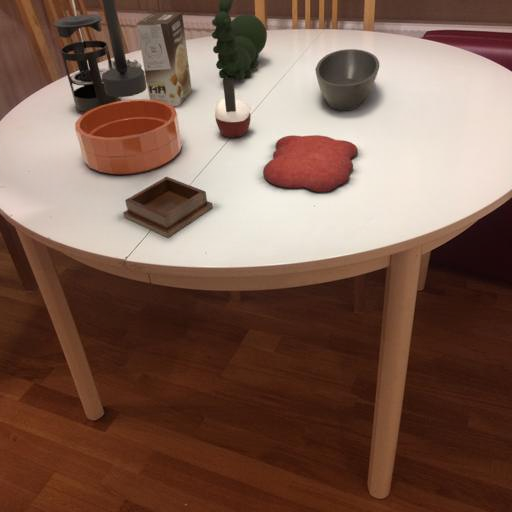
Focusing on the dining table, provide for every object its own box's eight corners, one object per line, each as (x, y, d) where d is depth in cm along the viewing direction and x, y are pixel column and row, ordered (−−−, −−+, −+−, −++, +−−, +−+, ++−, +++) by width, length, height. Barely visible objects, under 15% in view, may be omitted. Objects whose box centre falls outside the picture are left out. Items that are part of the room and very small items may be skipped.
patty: (280, 138, 93) (280, 127, 91) (360, 143, 89) (361, 132, 88) (254, 187, 79) (253, 176, 78) (346, 196, 76) (347, 184, 75)
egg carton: (146, 85, 119) (142, 66, 116) (112, 89, 117) (108, 71, 115) (141, 70, 127) (138, 53, 124) (110, 74, 126) (106, 57, 123)
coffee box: (179, 107, 107) (167, 23, 97) (150, 106, 108) (135, 23, 98) (192, 90, 114) (182, 11, 104) (165, 90, 115) (152, 11, 105)
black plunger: (123, 100, 74) (85, -87, 60) (96, 92, 77) (55, -87, 63) (155, 87, 77) (125, -92, 64) (128, 80, 80) (95, -92, 67)
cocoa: (228, 122, 99) (222, 58, 92) (259, 126, 97) (255, 60, 90) (206, 144, 92) (198, 76, 85) (238, 148, 90) (233, 79, 83)
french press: (128, 108, 108) (102, -16, 94) (83, 119, 104) (49, -8, 90) (111, 92, 116) (85, -24, 102) (68, 102, 112) (35, -17, 98)
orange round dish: (128, 186, 82) (119, 148, 78) (65, 160, 90) (54, 124, 86) (201, 146, 92) (196, 111, 88) (138, 126, 100) (131, 92, 96)
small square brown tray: (167, 237, 70) (164, 220, 68) (124, 217, 75) (119, 200, 73) (212, 207, 75) (210, 190, 74) (169, 190, 80) (166, 174, 78)
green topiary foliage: (249, 96, 114) (275, 51, 131) (240, 4, 101) (270, -32, 119) (208, 94, 116) (239, 50, 134) (195, 4, 103) (231, -32, 121)
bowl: (308, 117, 99) (308, 84, 95) (323, 77, 116) (323, 48, 112) (373, 120, 97) (376, 86, 93) (379, 79, 113) (381, 49, 110)
